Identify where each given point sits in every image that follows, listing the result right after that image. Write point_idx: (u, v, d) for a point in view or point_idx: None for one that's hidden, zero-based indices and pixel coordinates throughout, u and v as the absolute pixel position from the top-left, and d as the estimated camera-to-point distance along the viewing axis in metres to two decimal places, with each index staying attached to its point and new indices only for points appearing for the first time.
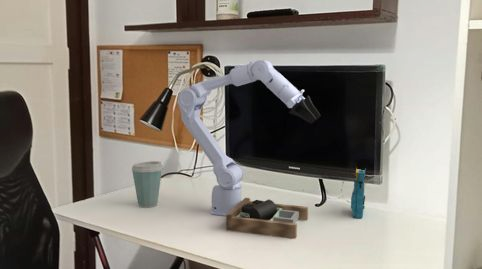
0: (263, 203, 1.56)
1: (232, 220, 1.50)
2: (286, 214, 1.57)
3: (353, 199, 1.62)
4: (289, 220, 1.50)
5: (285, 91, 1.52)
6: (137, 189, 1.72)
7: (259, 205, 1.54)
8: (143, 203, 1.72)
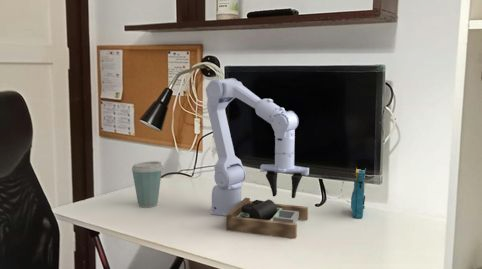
0: (263, 203, 1.56)
1: (232, 220, 1.50)
2: (286, 214, 1.57)
3: (353, 199, 1.62)
4: (289, 220, 1.50)
5: (275, 156, 1.52)
6: (137, 189, 1.72)
7: (259, 205, 1.54)
8: (143, 203, 1.72)
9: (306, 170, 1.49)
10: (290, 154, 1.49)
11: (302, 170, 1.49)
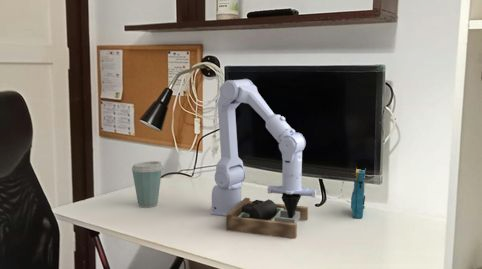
0: (263, 203, 1.56)
1: (232, 220, 1.50)
2: (287, 214, 1.57)
3: (353, 199, 1.62)
4: (290, 220, 1.50)
5: (282, 177, 1.52)
6: (137, 189, 1.72)
7: (259, 205, 1.54)
8: (143, 203, 1.72)
9: (313, 192, 1.49)
10: (297, 176, 1.49)
11: (309, 192, 1.49)
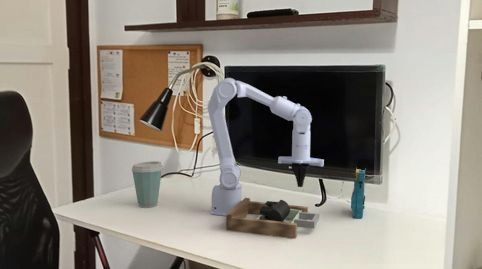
0: (279, 204, 1.55)
1: (232, 220, 1.50)
2: (306, 216, 1.55)
3: (353, 199, 1.62)
4: (310, 222, 1.48)
5: (292, 148, 1.63)
6: (137, 189, 1.72)
7: (277, 206, 1.53)
8: (143, 203, 1.72)
9: (321, 161, 1.60)
10: (306, 146, 1.60)
11: (317, 161, 1.60)
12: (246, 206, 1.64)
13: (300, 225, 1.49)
